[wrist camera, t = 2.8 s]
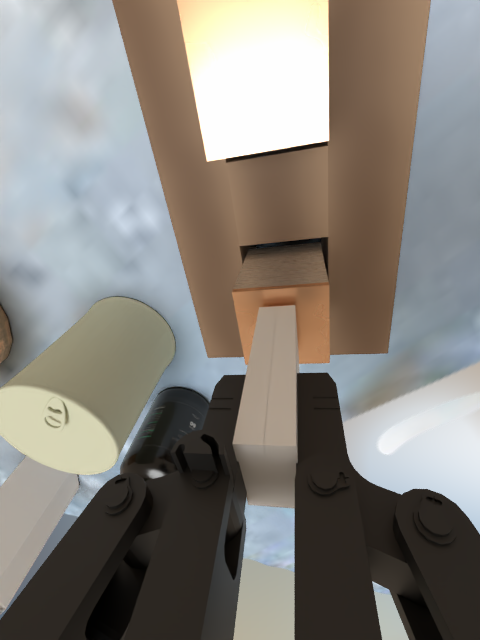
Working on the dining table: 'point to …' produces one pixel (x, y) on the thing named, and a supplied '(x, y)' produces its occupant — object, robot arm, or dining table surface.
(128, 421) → the can
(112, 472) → the dining table surface
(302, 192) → the socket block
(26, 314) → the dining table surface
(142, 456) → the supplement bottle
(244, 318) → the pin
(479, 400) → the dining table surface
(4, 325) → the pottery
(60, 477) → the milk carton
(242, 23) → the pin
